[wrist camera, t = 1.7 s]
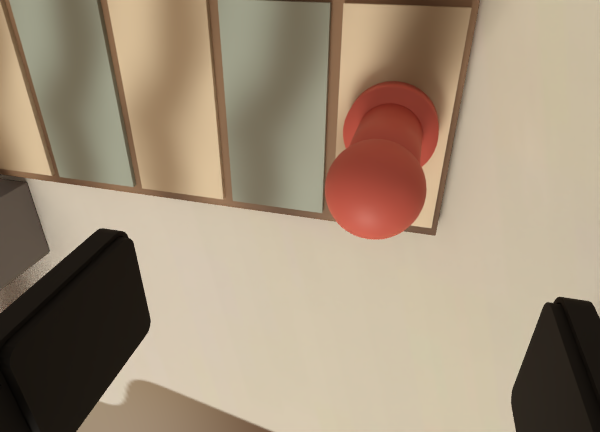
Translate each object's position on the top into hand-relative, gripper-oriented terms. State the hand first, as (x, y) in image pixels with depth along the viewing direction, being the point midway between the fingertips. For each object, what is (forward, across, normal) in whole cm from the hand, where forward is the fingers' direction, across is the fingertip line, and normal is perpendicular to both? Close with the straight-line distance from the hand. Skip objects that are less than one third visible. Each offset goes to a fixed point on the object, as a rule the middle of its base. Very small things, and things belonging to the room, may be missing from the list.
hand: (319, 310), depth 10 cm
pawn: (+14, -1, 0) cm, 14 cm away
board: (+16, +11, 0) cm, 19 cm away
